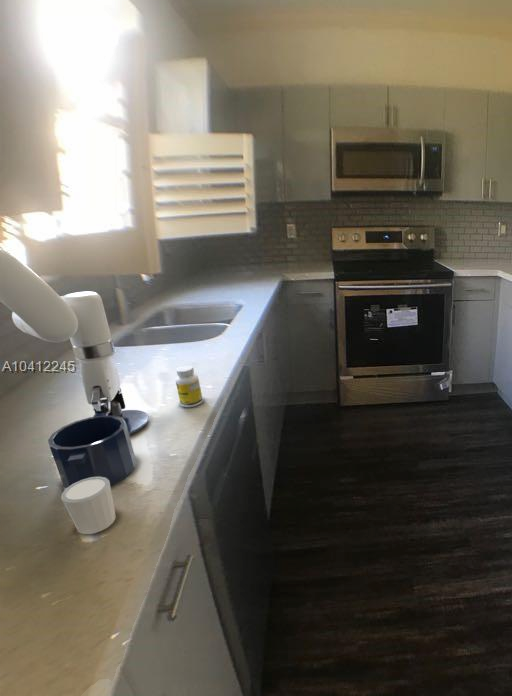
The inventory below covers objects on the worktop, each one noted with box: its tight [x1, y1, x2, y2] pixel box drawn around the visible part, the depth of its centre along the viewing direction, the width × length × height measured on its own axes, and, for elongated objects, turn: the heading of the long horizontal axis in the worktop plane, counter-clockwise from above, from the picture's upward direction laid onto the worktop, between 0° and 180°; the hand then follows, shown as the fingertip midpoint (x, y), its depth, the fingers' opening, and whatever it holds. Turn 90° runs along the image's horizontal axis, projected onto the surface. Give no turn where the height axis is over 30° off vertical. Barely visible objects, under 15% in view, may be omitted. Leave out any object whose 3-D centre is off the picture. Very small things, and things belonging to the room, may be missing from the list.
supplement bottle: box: [175, 365, 204, 408], centre depth 117 cm, size 5×5×10 cm
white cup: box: [60, 477, 116, 535], centre depth 76 cm, size 7×7×7 cm
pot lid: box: [102, 401, 149, 436], centre depth 106 cm, size 14×14×6 cm
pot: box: [47, 413, 137, 490], centre depth 89 cm, size 13×18×10 cm
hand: (113, 418), depth 106 cm, fingers open, 9 cm apart
